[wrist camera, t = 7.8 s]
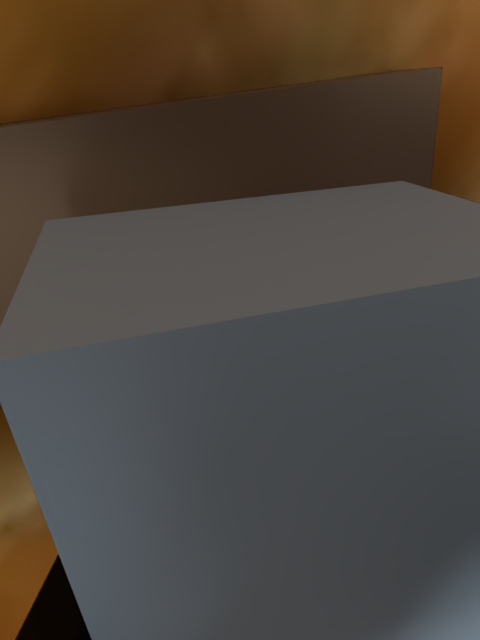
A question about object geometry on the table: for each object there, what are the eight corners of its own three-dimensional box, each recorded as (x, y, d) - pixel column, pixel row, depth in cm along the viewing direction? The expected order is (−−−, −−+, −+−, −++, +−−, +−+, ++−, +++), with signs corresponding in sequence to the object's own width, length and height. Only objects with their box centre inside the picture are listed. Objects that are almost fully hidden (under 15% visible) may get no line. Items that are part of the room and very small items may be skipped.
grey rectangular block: (357, 540, 12) (453, 709, 9) (146, 605, 11) (165, 830, 8) (402, 180, 8) (637, 249, 4) (46, 220, 6) (-16, 362, 3)
